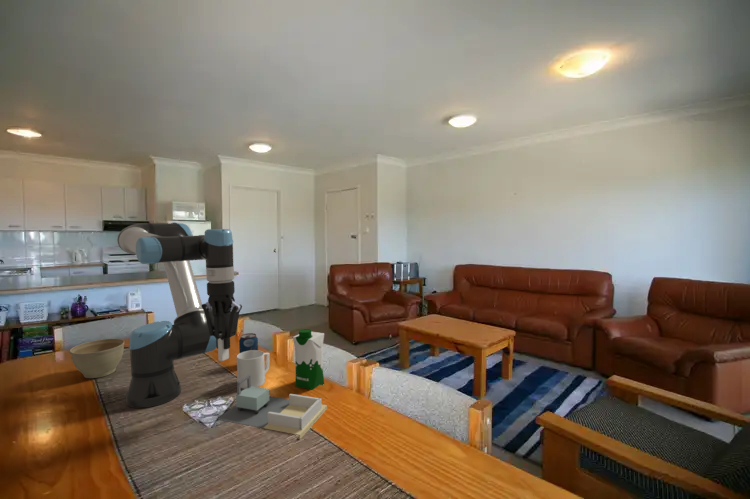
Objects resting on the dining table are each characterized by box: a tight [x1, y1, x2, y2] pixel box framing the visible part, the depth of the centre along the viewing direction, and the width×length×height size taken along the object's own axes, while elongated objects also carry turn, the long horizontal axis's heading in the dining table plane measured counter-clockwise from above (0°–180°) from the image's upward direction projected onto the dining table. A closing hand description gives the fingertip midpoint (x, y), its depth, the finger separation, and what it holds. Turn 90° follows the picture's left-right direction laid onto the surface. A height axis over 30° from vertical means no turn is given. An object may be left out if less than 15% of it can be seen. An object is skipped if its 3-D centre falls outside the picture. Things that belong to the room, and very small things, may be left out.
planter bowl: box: [69, 338, 125, 379], centre depth 135 cm, size 16×16×11 cm
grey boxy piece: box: [235, 375, 270, 414], centre depth 106 cm, size 7×6×9 cm
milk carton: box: [292, 328, 325, 391], centre depth 123 cm, size 9×9×20 cm
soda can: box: [238, 332, 259, 354], centre depth 142 cm, size 7×7×12 cm
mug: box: [236, 349, 270, 390], centre depth 125 cm, size 12×9×11 cm
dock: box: [217, 393, 328, 440], centre depth 104 cm, size 26×16×4 cm, turn 72°
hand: (223, 359), depth 109 cm, fingers closed
